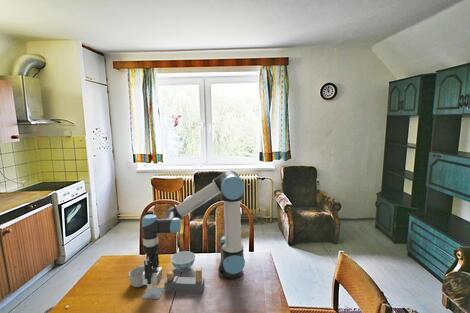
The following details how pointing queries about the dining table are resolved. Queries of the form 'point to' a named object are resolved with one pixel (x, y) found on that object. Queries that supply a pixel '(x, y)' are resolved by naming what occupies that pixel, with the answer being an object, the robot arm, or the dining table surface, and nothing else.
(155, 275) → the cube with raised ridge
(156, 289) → the mat
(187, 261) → the chinaware
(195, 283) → the plane
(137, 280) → the teacup
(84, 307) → the dining table surface
